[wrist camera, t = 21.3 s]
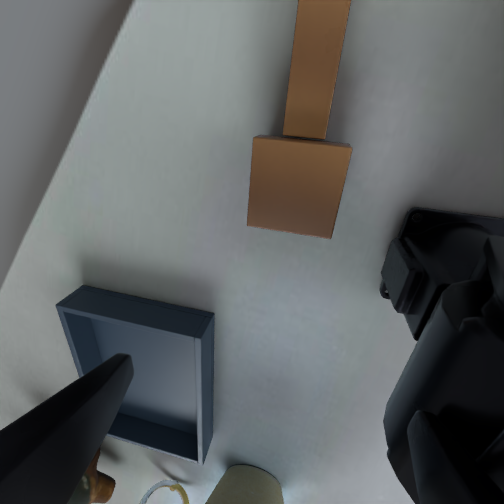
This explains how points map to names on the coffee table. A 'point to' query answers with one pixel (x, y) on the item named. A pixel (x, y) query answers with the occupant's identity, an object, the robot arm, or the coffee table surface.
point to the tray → (149, 366)
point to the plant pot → (246, 487)
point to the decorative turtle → (93, 485)
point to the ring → (173, 487)
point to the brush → (304, 134)
